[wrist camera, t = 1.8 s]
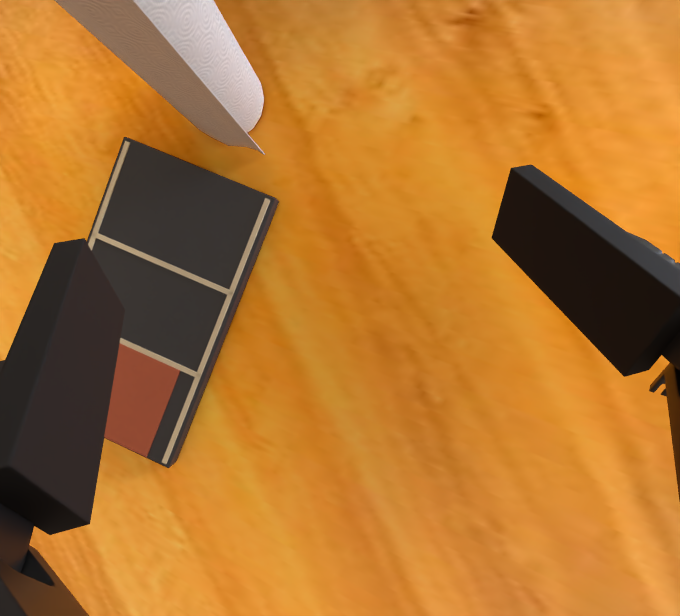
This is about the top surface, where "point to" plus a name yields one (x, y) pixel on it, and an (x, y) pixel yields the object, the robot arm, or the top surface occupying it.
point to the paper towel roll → (182, 59)
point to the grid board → (171, 286)
